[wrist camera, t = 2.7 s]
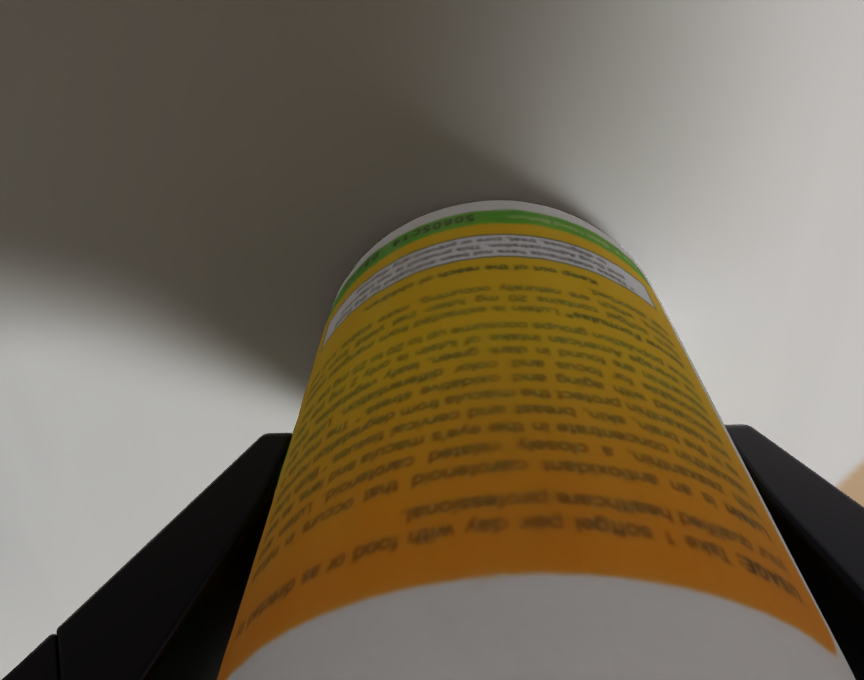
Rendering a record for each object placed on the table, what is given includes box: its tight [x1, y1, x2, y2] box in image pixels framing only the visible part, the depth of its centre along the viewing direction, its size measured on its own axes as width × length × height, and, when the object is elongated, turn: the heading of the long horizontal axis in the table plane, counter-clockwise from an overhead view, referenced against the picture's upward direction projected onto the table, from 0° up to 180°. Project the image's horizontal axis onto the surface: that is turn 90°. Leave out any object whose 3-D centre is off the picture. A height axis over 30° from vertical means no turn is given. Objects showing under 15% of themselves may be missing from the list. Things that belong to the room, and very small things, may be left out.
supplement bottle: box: [217, 200, 856, 680], centre depth 7 cm, size 5×5×10 cm
